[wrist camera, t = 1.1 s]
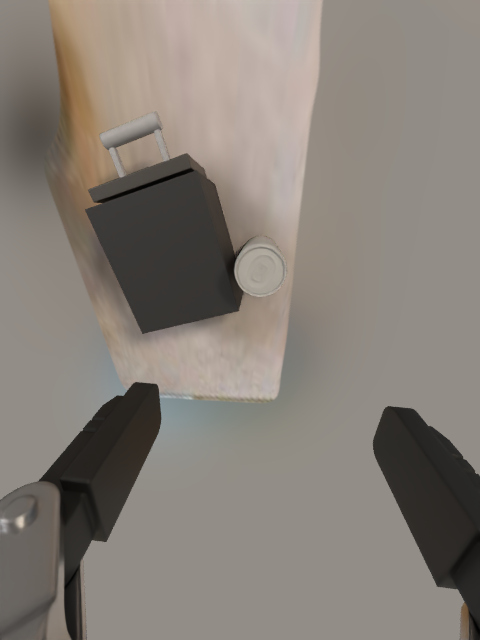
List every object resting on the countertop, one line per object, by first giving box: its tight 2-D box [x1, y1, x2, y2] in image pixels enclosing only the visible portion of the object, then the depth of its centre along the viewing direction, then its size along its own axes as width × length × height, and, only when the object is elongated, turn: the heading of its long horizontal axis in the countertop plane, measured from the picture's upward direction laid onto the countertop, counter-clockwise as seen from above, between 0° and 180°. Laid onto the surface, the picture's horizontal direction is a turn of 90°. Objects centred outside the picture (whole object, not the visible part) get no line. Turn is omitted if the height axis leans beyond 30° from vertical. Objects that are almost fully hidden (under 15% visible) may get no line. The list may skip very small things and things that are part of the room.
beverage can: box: [234, 236, 287, 297], centre depth 27 cm, size 5×5×12 cm
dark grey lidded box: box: [85, 170, 243, 334], centre depth 29 cm, size 14×12×9 cm
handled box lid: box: [88, 111, 207, 203], centre depth 27 cm, size 17×10×7 cm, turn 16°
